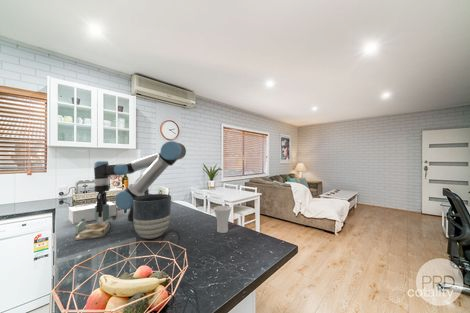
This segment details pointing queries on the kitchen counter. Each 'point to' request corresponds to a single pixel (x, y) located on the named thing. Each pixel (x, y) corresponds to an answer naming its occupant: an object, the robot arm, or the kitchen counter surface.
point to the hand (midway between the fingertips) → (102, 219)
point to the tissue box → (87, 212)
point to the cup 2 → (222, 218)
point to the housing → (94, 231)
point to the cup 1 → (105, 212)
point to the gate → (80, 226)
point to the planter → (151, 214)
